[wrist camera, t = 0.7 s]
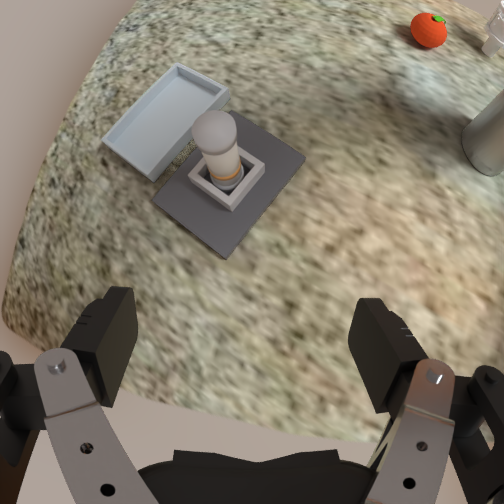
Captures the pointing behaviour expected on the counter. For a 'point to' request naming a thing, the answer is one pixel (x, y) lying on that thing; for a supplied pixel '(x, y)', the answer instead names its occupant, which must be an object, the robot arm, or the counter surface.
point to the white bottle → (219, 148)
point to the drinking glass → (495, 32)
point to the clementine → (428, 30)
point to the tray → (164, 119)
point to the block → (230, 203)
